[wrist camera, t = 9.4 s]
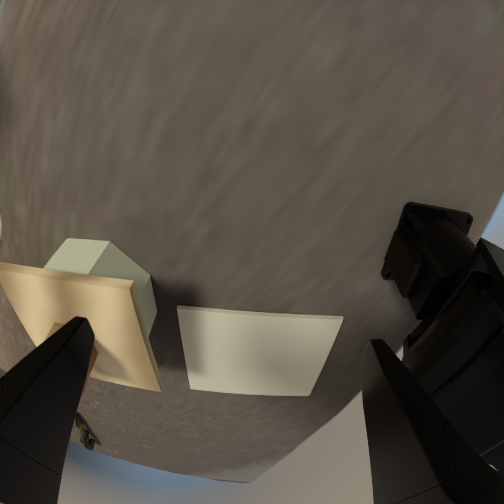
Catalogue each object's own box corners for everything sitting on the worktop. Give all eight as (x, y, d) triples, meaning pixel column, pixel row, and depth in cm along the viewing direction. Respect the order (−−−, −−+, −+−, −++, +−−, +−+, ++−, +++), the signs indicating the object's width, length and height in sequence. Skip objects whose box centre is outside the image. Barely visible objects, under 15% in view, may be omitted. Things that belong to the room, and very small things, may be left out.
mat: (342, 315, 25) (343, 319, 24) (308, 393, 33) (309, 395, 33) (177, 305, 25) (176, 308, 24) (191, 386, 33) (190, 388, 32)
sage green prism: (145, 243, 21) (121, 289, 17) (161, 332, 27) (149, 376, 23) (42, 235, 21) (10, 272, 17) (73, 317, 27) (54, 354, 23)
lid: (133, 280, 17) (104, 345, 13) (163, 384, 23) (152, 432, 20) (-1, 261, 16) (-35, 305, 12) (51, 358, 23) (34, 397, 19)
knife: (76, 398, 46) (68, 417, 42) (83, 400, 46) (75, 420, 42) (89, 439, 57) (85, 454, 53) (95, 441, 57) (90, 456, 53)
